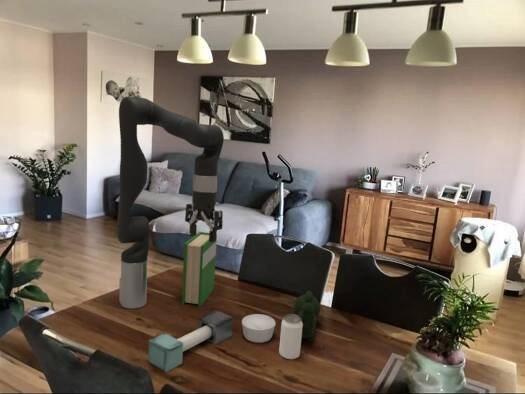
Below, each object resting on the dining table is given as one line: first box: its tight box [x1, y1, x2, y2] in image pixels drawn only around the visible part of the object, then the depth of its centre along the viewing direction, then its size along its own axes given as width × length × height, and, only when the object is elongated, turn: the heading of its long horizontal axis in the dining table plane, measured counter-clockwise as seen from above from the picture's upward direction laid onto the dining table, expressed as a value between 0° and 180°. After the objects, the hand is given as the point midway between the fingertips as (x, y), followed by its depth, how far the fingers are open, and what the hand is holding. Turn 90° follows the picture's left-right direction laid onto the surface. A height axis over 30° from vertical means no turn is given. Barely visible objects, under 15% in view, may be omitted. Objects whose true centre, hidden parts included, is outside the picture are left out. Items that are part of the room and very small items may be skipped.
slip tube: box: [176, 325, 213, 352], centre depth 129 cm, size 4×22×4 cm, turn 143°
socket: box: [147, 332, 184, 373], centre depth 120 cm, size 8×6×6 cm
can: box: [278, 313, 303, 360], centre depth 129 cm, size 6×6×12 cm
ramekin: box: [241, 313, 276, 344], centre depth 139 cm, size 11×11×5 cm
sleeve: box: [198, 309, 234, 346], centre depth 137 cm, size 8×8×6 cm
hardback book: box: [181, 231, 218, 308], centre depth 165 cm, size 18×7×24 cm, turn 170°
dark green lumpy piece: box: [293, 290, 321, 342], centre depth 144 cm, size 9×19×25 cm
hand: (202, 239), depth 134 cm, fingers open, 8 cm apart
